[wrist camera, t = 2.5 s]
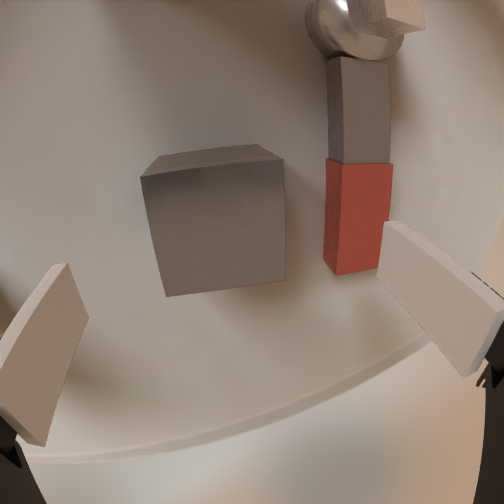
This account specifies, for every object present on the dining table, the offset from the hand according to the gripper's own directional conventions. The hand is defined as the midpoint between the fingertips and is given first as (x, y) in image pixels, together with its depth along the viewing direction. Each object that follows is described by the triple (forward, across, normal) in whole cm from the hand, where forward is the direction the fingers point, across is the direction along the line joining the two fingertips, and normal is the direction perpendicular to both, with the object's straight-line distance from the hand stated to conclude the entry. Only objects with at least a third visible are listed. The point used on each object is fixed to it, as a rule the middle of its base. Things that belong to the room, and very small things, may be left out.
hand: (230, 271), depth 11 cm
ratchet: (+10, +10, +5) cm, 14 cm away
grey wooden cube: (+9, 0, 0) cm, 9 cm away
